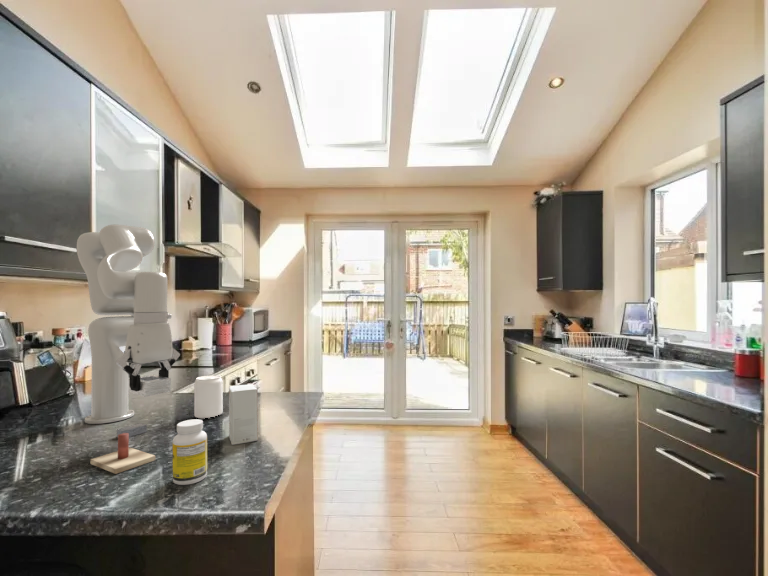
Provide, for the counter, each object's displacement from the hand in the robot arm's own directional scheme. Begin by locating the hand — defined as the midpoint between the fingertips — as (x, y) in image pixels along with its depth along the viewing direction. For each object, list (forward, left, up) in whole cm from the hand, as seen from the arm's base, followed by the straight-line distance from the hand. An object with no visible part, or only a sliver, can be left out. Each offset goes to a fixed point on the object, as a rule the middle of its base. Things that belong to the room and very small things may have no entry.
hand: (149, 386), depth 101 cm
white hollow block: (0, 0, -1) cm, 1 cm away
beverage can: (-5, +21, -14) cm, 25 cm away
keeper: (+10, -11, -13) cm, 20 cm away
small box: (+22, +12, -14) cm, 28 cm away
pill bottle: (+32, -9, -14) cm, 36 cm away
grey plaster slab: (-8, 0, -13) cm, 16 cm away
